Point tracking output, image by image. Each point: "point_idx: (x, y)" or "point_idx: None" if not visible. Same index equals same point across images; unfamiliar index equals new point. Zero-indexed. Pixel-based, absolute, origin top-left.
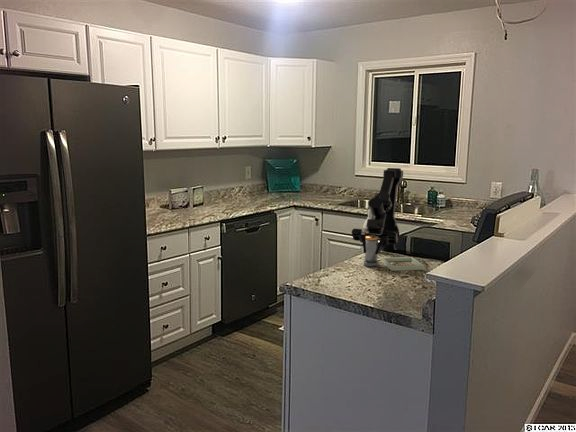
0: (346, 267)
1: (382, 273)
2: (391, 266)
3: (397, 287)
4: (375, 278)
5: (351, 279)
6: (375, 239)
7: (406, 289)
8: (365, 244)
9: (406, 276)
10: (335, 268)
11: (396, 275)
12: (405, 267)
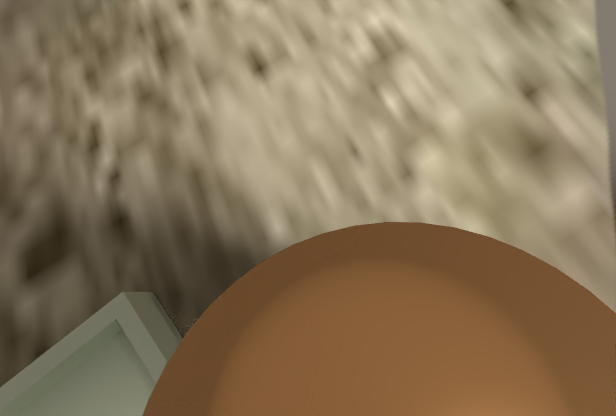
0: (518, 229)
1: (208, 241)
2: (126, 303)
3: (56, 44)
4: (215, 113)
5: (337, 20)
6: (204, 335)
7: (7, 42)
8: None
9: (34, 270)
10: (569, 157)
11: (104, 252)
12: (16, 379)
